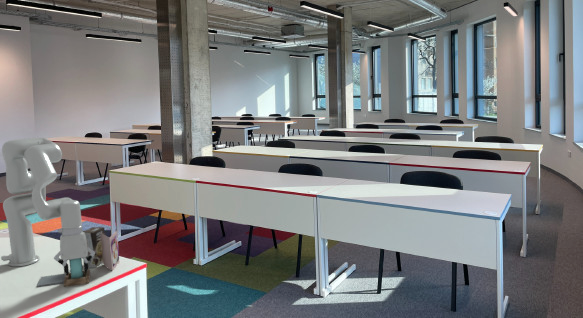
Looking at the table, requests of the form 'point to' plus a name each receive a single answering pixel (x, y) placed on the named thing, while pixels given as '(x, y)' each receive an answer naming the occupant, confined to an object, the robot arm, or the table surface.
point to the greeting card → (110, 250)
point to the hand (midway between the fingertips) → (76, 272)
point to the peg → (76, 268)
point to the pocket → (77, 279)
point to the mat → (51, 280)
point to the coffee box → (95, 245)
